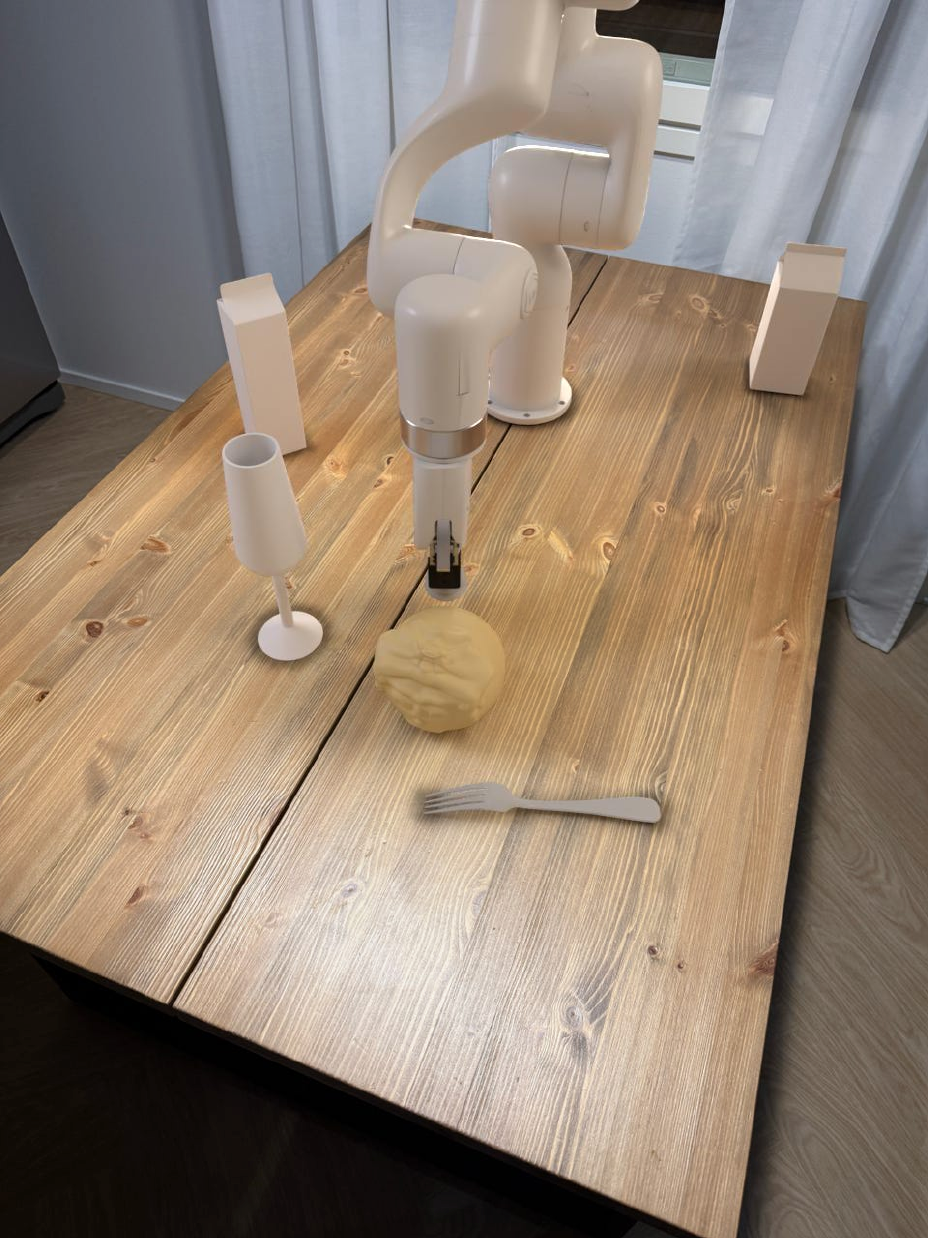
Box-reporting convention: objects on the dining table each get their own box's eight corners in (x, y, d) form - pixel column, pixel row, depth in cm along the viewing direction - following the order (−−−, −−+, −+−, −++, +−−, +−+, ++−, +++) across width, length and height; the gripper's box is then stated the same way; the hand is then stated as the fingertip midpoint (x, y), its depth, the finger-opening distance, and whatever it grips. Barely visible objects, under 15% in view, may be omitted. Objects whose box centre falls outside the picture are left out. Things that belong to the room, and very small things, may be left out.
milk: (307, 448, 112) (283, 284, 96) (261, 462, 110) (229, 298, 94) (288, 422, 116) (262, 259, 99) (244, 435, 114) (210, 272, 97)
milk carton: (802, 396, 121) (849, 262, 106) (749, 390, 121) (788, 255, 107) (800, 367, 125) (845, 234, 111) (748, 361, 126) (786, 228, 112)
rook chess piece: (474, 580, 93) (476, 524, 87) (456, 609, 91) (456, 553, 85) (436, 567, 94) (435, 511, 88) (417, 595, 92) (414, 539, 86)
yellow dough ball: (363, 728, 85) (353, 657, 77) (415, 638, 92) (411, 565, 84) (475, 767, 82) (477, 699, 74) (519, 672, 89) (525, 600, 81)
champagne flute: (270, 669, 89) (223, 485, 71) (248, 624, 93) (199, 438, 75) (332, 646, 91) (303, 461, 73) (309, 603, 95) (275, 417, 77)
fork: (654, 839, 80) (663, 824, 78) (423, 819, 78) (426, 803, 76) (650, 811, 82) (659, 796, 80) (425, 791, 80) (428, 775, 78)
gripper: (404, 368, 82) (411, 516, 96) (395, 485, 71) (404, 633, 85) (485, 369, 82) (481, 517, 96) (488, 486, 71) (482, 634, 85)
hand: (445, 570), depth 91 cm, fingers closed on rook chess piece, 3 cm apart
